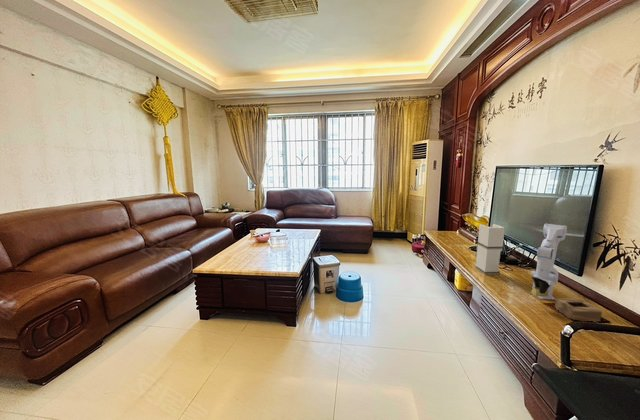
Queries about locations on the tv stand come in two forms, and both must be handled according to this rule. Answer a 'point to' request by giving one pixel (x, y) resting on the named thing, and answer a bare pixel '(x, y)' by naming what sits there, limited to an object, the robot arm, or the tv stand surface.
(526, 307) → the tv stand surface
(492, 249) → the stacked grey cubes
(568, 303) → the box
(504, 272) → the tv stand surface
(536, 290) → the block
